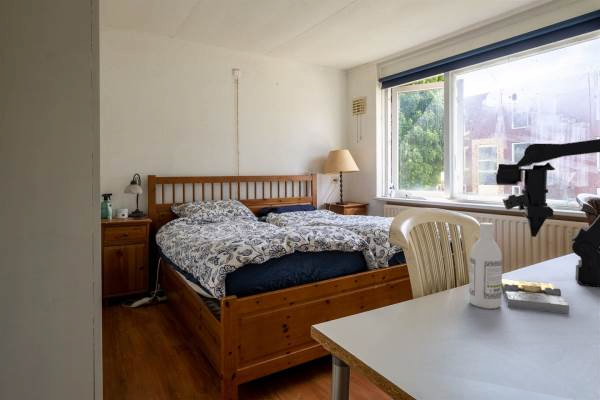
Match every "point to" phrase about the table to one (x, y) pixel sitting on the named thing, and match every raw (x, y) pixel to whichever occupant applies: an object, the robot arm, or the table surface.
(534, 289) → the brass hinge plate
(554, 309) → the fixed leaf
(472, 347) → the table surface
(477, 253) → the bath foam
